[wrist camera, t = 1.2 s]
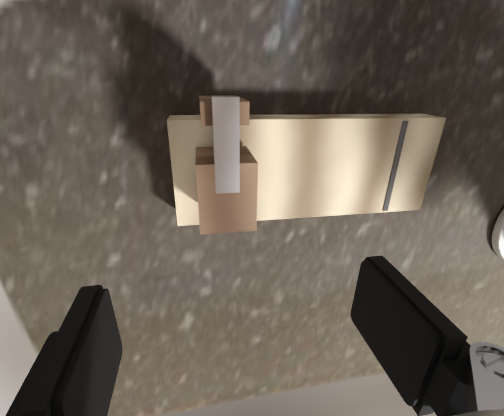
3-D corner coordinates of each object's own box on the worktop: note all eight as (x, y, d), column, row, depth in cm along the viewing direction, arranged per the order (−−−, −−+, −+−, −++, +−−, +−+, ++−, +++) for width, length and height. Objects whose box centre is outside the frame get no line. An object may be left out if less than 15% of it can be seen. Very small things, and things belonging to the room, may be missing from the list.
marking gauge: (244, 91, 23) (259, 97, 17) (244, 198, 26) (256, 230, 21) (192, 91, 22) (190, 96, 16) (199, 200, 26) (200, 234, 20)
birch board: (422, 113, 28) (447, 118, 26) (401, 198, 32) (420, 210, 29) (169, 115, 24) (166, 120, 22) (179, 211, 28) (177, 226, 25)
